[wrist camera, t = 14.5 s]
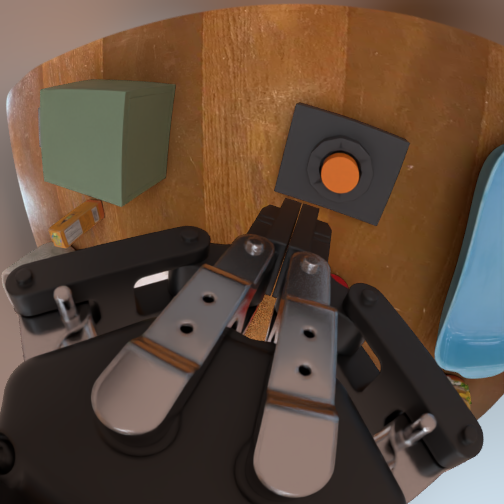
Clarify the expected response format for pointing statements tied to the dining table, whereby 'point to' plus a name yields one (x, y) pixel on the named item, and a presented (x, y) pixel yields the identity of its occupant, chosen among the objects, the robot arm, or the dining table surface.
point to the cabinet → (106, 136)
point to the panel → (340, 141)
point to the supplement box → (76, 223)
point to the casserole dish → (478, 284)
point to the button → (340, 173)
